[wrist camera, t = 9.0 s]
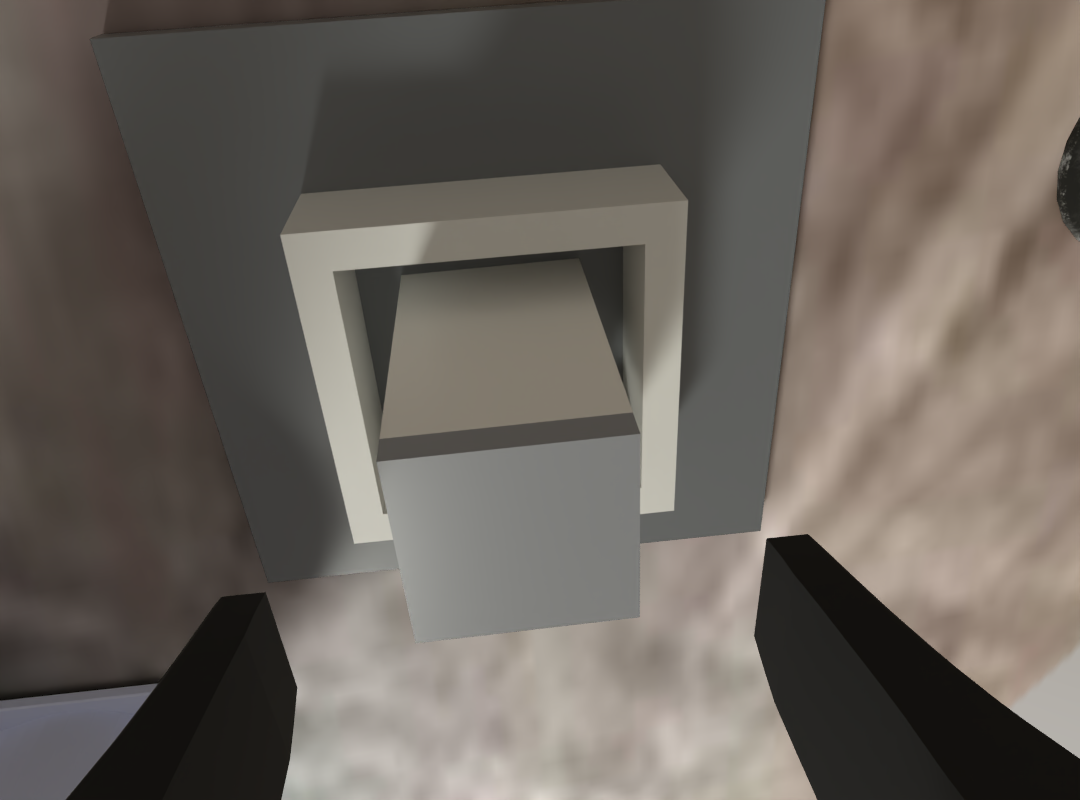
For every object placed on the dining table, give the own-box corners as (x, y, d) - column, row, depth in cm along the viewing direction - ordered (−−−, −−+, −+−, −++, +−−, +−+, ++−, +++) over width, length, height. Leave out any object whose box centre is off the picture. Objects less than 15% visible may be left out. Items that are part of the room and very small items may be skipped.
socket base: (272, 567, 23) (249, 651, 20) (101, 34, 15) (32, 61, 13) (753, 517, 24) (790, 592, 21) (815, -18, 16) (883, -1, 14)
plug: (426, 423, 20) (415, 643, 14) (401, 275, 18) (376, 462, 12) (584, 406, 20) (639, 617, 14) (579, 258, 18) (640, 433, 12)
